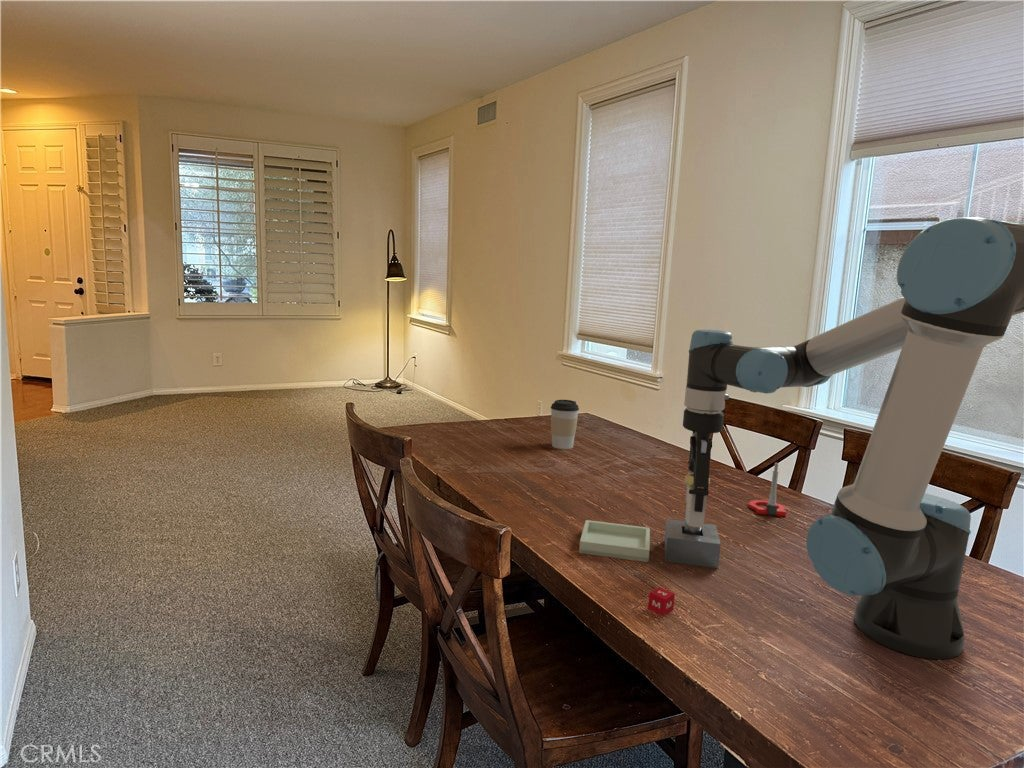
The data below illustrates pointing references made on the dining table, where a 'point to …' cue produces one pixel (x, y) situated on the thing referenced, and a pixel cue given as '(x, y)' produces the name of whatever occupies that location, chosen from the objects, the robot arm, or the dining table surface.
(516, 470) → the dining table surface
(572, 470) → the dining table surface
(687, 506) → the pin
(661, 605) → the dice
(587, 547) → the tray
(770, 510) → the tow hook
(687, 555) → the hitch block
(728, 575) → the dining table surface
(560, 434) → the coffee cup
